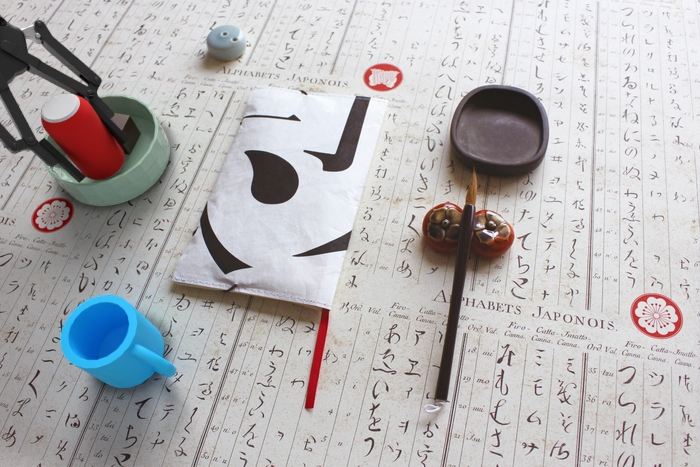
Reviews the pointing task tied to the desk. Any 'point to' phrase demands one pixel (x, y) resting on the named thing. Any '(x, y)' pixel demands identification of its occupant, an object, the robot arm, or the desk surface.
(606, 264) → the desk surface
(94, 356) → the mug
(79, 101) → the beverage can
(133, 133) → the block
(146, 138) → the bowl
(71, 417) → the desk surface
